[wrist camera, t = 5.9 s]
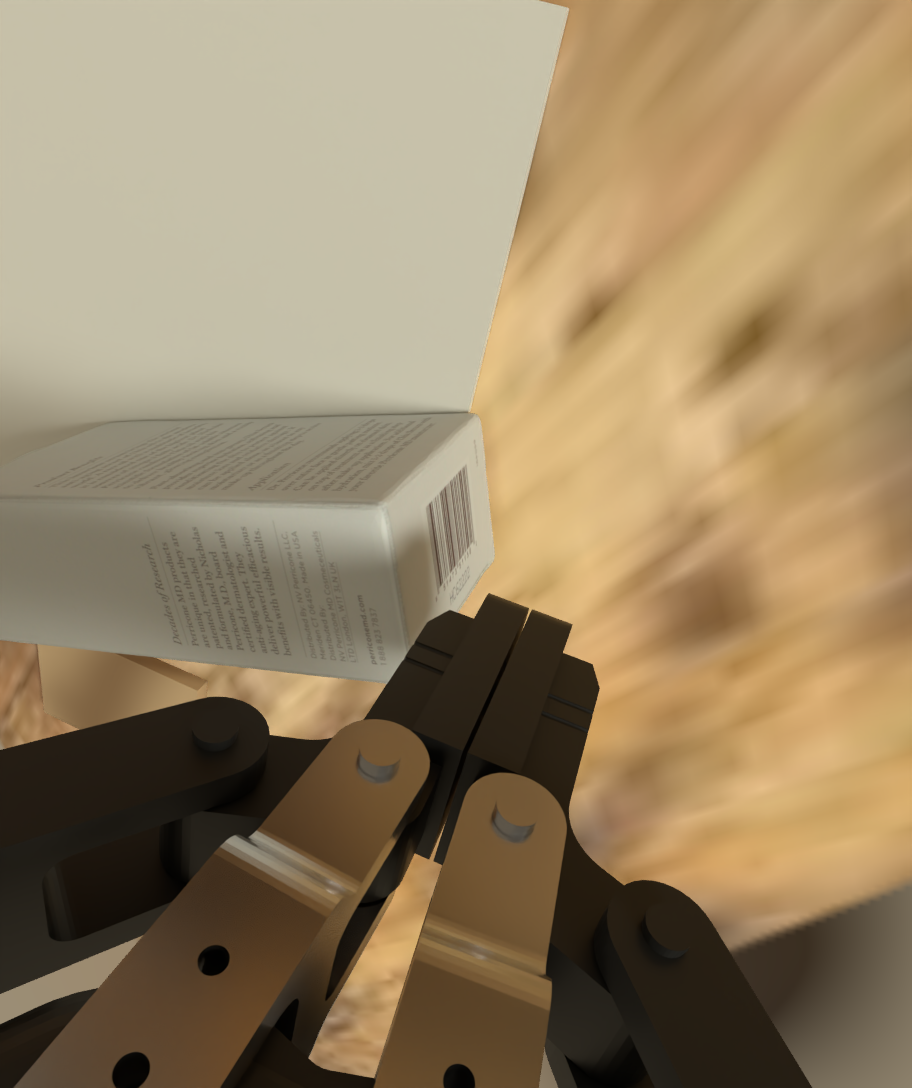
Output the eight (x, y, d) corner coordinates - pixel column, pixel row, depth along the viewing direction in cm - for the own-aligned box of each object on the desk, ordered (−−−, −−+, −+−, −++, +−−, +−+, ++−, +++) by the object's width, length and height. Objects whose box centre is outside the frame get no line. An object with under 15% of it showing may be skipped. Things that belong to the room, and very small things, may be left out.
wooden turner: (410, 772, 26) (398, 793, 25) (385, 861, 28) (374, 882, 28) (47, 608, 28) (26, 622, 28) (55, 703, 31) (36, 718, 30)
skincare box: (500, 565, 20) (148, 544, 25) (485, 409, 19) (108, 415, 23) (412, 701, 15) (-14, 644, 20) (379, 505, 13) (-81, 490, 18)
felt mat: (569, 8, 15) (567, 7, 14) (402, 685, 24) (400, 689, 24) (-134, -164, 17) (-142, -167, 17) (-34, 503, 27) (-39, 505, 27)
